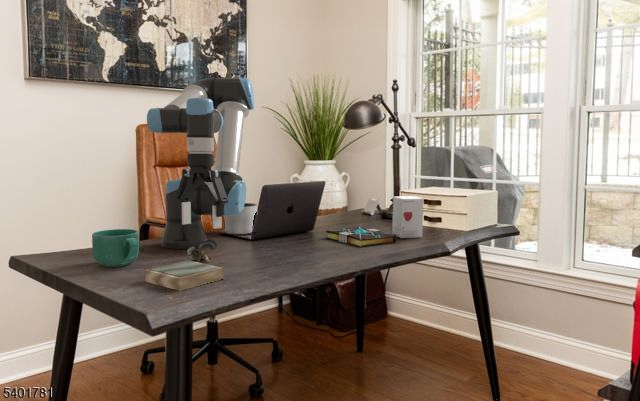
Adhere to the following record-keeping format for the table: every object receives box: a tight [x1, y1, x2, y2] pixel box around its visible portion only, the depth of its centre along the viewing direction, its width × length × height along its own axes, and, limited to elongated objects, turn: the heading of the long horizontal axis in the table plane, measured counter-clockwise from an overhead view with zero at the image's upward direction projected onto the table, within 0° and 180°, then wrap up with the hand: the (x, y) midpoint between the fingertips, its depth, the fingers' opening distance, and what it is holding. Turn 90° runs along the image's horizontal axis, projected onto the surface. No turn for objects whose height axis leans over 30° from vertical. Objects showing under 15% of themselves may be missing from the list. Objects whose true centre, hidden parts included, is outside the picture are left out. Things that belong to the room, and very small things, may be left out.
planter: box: [224, 202, 258, 235], centre depth 209 cm, size 12×13×11 cm
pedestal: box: [144, 260, 225, 292], centre depth 137 cm, size 14×14×3 cm
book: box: [325, 226, 398, 248], centre depth 195 cm, size 22×17×5 cm
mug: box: [91, 228, 140, 268], centre depth 153 cm, size 17×13×10 cm
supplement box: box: [391, 195, 424, 239], centre depth 204 cm, size 9×9×15 cm
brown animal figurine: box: [186, 238, 218, 263], centre depth 159 cm, size 8×7×9 cm
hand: (201, 226), depth 156 cm, fingers open, 13 cm apart
